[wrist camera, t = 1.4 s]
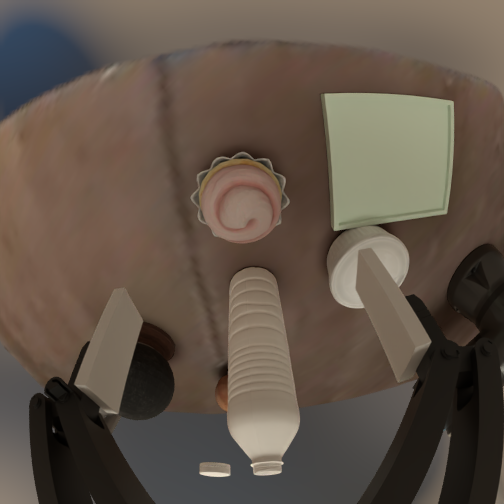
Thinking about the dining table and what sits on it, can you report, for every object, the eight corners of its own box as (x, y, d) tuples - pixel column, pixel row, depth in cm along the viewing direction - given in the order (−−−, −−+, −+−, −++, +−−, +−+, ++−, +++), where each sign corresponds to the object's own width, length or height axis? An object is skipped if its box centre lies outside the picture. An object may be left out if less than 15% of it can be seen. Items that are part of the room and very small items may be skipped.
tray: (446, 100, 23) (453, 101, 22) (441, 209, 32) (446, 213, 31) (320, 93, 24) (324, 93, 23) (330, 225, 33) (334, 231, 31)
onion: (274, 367, 49) (279, 412, 40) (248, 387, 53) (250, 429, 44) (230, 354, 46) (230, 403, 37) (208, 376, 50) (205, 420, 41)
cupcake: (224, 234, 33) (219, 287, 24) (183, 168, 28) (159, 202, 20) (295, 201, 31) (316, 246, 22) (260, 128, 26) (270, 144, 18)
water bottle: (280, 266, 36) (317, 463, 15) (273, 303, 39) (297, 476, 18) (213, 263, 35) (196, 466, 14) (213, 300, 38) (202, 478, 17)
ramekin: (356, 294, 39) (368, 319, 35) (303, 265, 36) (311, 291, 31) (405, 241, 35) (423, 262, 30) (356, 200, 31) (374, 219, 27)
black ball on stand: (103, 342, 44) (81, 408, 31) (122, 304, 38) (92, 384, 26) (163, 370, 48) (152, 436, 36) (193, 339, 43) (184, 420, 31)
